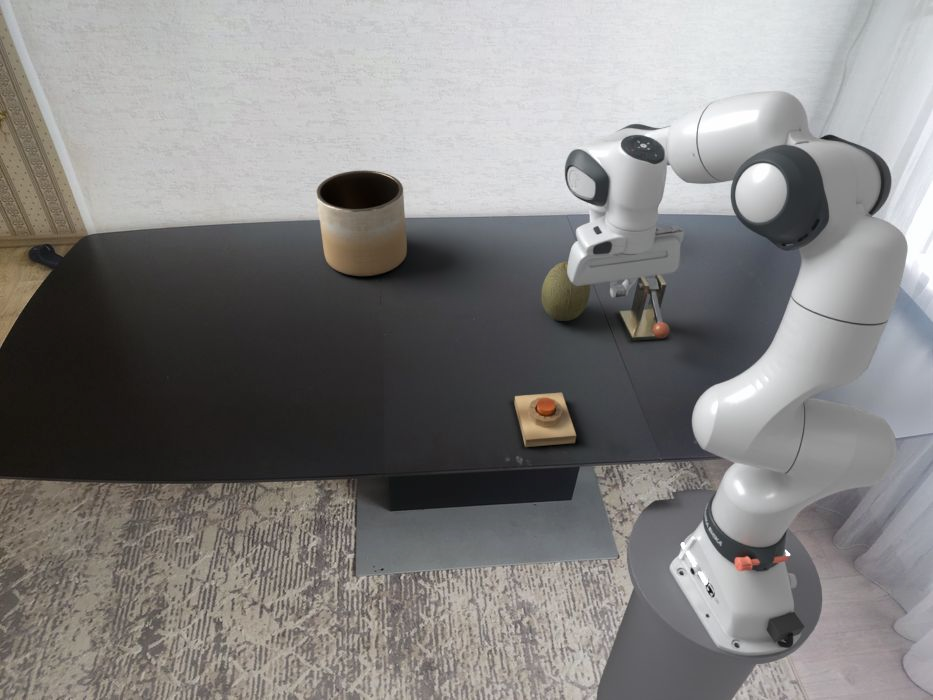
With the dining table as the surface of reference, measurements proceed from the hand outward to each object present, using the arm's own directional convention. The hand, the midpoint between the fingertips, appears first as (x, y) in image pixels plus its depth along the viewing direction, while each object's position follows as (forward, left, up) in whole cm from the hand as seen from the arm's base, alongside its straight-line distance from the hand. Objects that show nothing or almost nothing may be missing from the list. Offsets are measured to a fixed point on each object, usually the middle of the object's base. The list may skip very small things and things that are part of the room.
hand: (618, 294), depth 123 cm
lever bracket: (+21, -17, -26) cm, 38 cm away
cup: (+60, -18, -26) cm, 68 cm away
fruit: (+27, +1, -26) cm, 38 cm away
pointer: (+17, -17, -18) cm, 30 cm away
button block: (-7, +13, -26) cm, 30 cm away
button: (-7, +13, -23) cm, 27 cm away
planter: (+58, +48, -26) cm, 80 cm away
